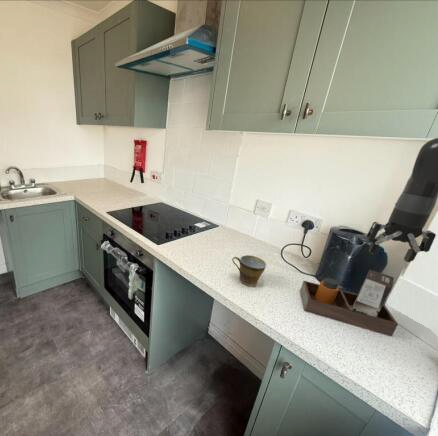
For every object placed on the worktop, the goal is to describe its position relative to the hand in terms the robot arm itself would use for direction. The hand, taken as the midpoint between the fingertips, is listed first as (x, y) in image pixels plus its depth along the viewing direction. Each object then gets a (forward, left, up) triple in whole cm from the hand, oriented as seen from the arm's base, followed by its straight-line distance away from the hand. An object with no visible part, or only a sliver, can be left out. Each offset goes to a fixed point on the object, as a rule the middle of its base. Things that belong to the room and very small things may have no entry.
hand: (389, 257), depth 77 cm
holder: (+6, 0, -25) cm, 25 cm away
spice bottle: (+12, 0, -24) cm, 27 cm away
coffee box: (0, 0, -24) cm, 24 cm away
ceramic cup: (+39, -4, -25) cm, 46 cm away
